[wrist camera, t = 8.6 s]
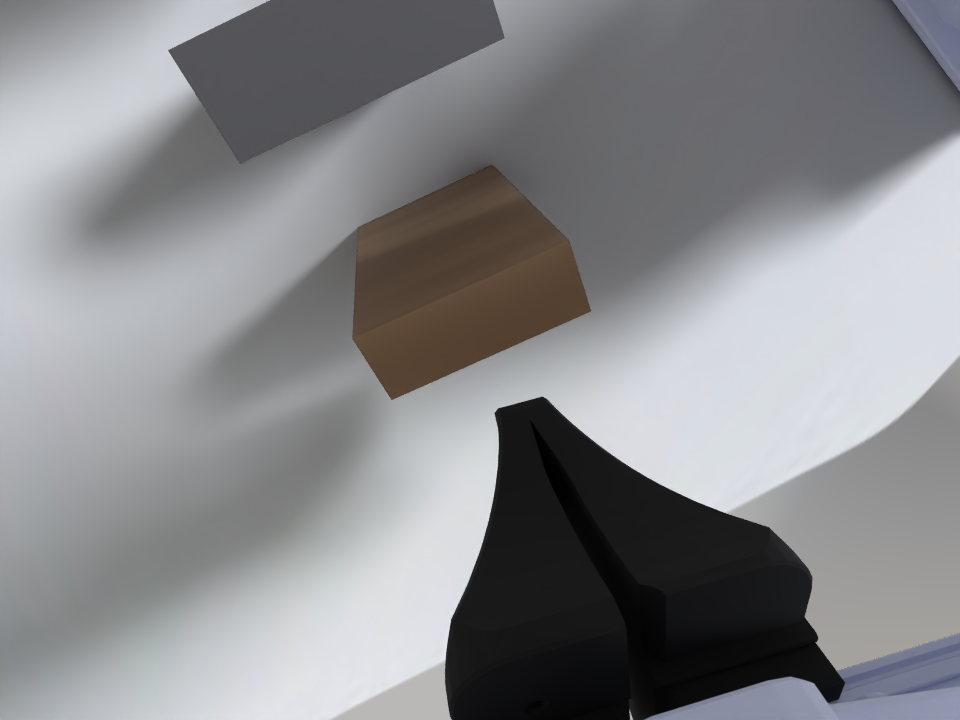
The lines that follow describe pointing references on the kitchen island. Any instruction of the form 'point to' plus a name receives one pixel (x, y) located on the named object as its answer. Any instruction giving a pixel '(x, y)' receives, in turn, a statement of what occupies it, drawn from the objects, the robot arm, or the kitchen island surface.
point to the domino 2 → (459, 281)
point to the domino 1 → (322, 60)
